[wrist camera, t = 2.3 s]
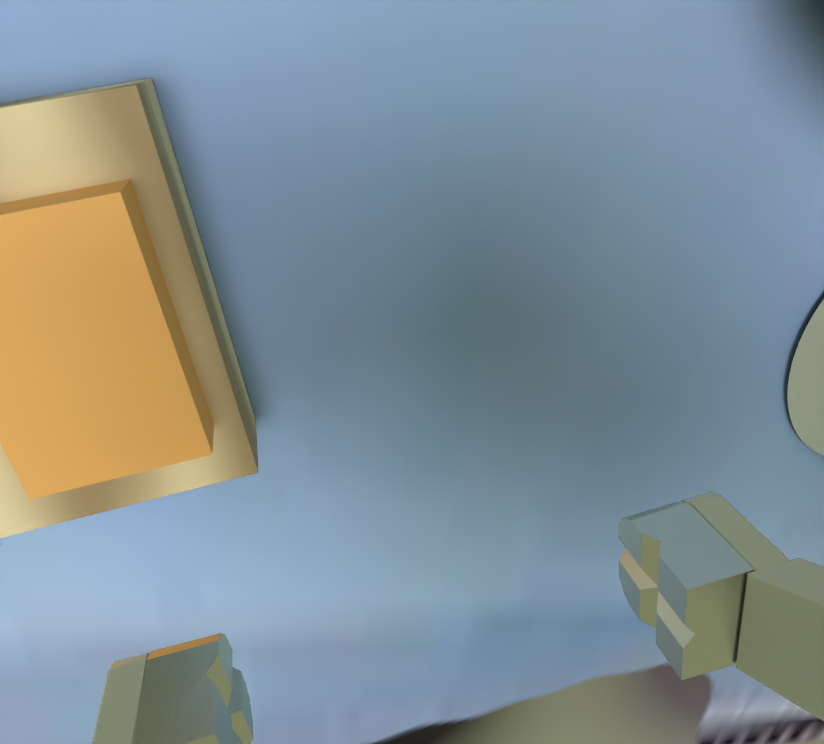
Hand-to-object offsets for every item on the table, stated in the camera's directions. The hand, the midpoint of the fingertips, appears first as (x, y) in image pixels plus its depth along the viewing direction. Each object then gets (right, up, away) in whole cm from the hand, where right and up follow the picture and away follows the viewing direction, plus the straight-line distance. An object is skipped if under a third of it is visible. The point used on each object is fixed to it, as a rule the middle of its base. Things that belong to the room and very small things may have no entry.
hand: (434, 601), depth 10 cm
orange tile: (-11, +5, +12) cm, 17 cm away
